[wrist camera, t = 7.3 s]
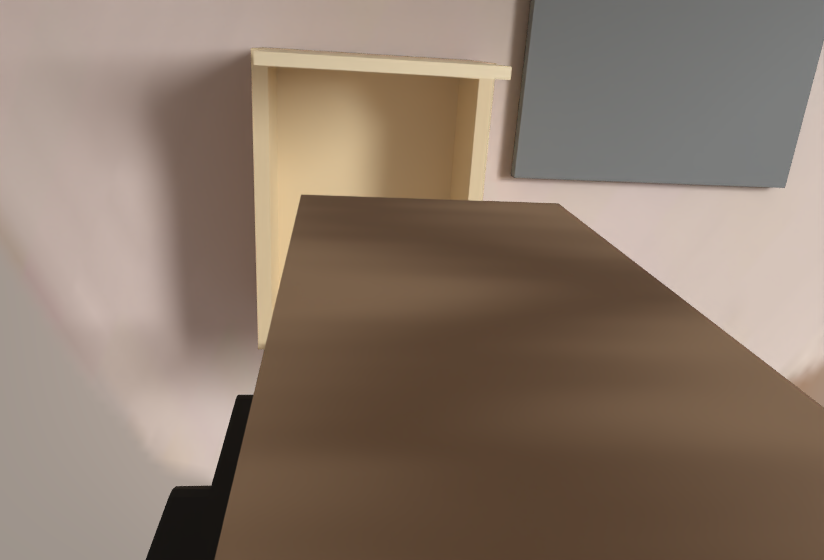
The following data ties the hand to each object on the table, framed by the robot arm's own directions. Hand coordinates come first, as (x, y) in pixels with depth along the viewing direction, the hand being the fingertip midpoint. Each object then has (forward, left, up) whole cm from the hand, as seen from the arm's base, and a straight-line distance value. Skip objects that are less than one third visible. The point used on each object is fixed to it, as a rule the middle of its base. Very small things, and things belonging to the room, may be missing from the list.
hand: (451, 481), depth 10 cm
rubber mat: (-14, -8, -22) cm, 27 cm away
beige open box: (0, 0, -22) cm, 22 cm away
